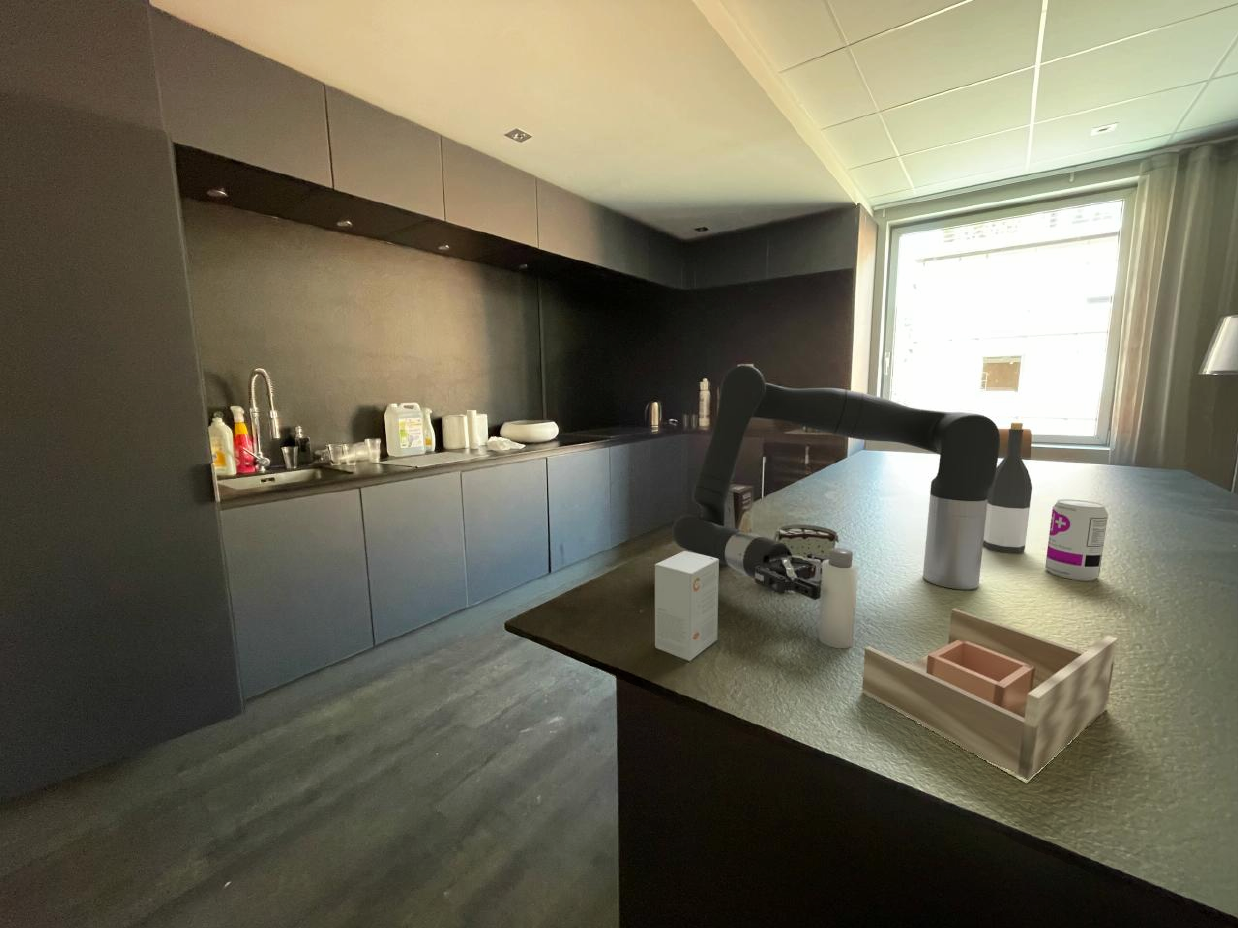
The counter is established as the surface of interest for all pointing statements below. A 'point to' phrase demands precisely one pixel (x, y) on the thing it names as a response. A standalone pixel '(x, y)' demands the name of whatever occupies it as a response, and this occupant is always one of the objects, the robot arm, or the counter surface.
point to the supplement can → (1076, 539)
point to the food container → (807, 540)
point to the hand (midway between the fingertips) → (838, 587)
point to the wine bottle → (1009, 500)
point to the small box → (686, 604)
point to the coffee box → (739, 508)
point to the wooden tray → (997, 691)
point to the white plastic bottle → (838, 599)
